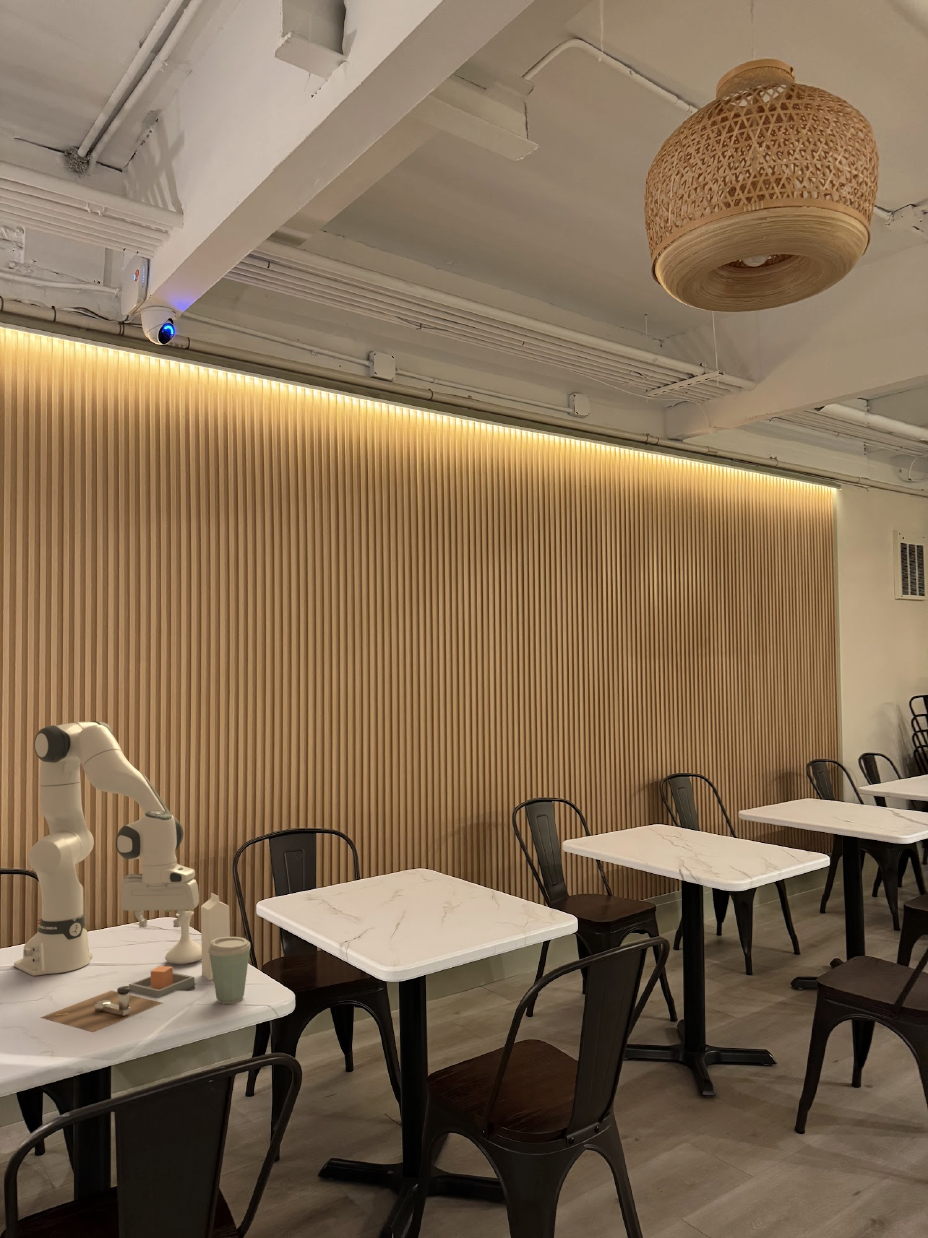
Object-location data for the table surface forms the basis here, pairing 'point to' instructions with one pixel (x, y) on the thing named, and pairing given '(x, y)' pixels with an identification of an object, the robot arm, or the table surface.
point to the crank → (114, 1008)
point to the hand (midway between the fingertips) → (160, 927)
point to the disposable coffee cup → (229, 967)
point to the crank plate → (98, 1012)
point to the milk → (212, 929)
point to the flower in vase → (184, 944)
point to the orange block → (161, 977)
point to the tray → (179, 984)
